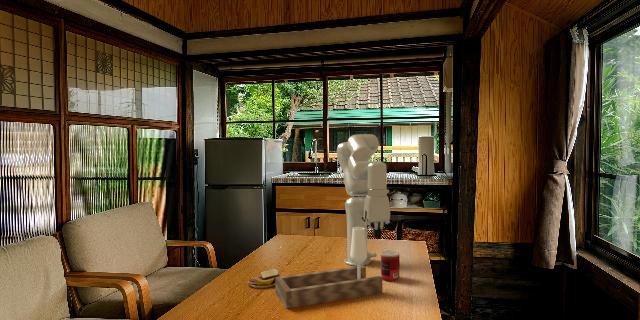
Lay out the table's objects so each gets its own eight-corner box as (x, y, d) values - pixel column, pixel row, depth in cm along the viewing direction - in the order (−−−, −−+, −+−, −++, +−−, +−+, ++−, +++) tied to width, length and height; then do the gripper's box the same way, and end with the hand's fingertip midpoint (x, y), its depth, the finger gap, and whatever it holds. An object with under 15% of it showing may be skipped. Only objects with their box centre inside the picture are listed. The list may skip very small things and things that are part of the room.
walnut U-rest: (363, 279, 166) (363, 265, 165) (382, 293, 151) (382, 277, 150) (275, 292, 153) (275, 277, 152) (286, 308, 138) (286, 291, 137)
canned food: (400, 276, 169) (400, 251, 169) (398, 282, 162) (398, 256, 161) (383, 274, 172) (382, 249, 171) (379, 280, 164) (379, 254, 164)
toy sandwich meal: (248, 279, 168) (247, 268, 168) (279, 277, 170) (279, 267, 170) (247, 290, 156) (247, 278, 156) (281, 288, 158) (281, 276, 158)
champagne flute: (356, 292, 152) (356, 230, 151) (347, 287, 158) (346, 227, 157) (371, 289, 155) (370, 228, 154) (361, 284, 161) (361, 225, 160)
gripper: (388, 191, 163) (389, 234, 164) (356, 193, 158) (356, 238, 159) (398, 193, 156) (398, 238, 157) (364, 195, 151) (365, 242, 152)
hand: (377, 238), depth 158 cm, fingers closed
